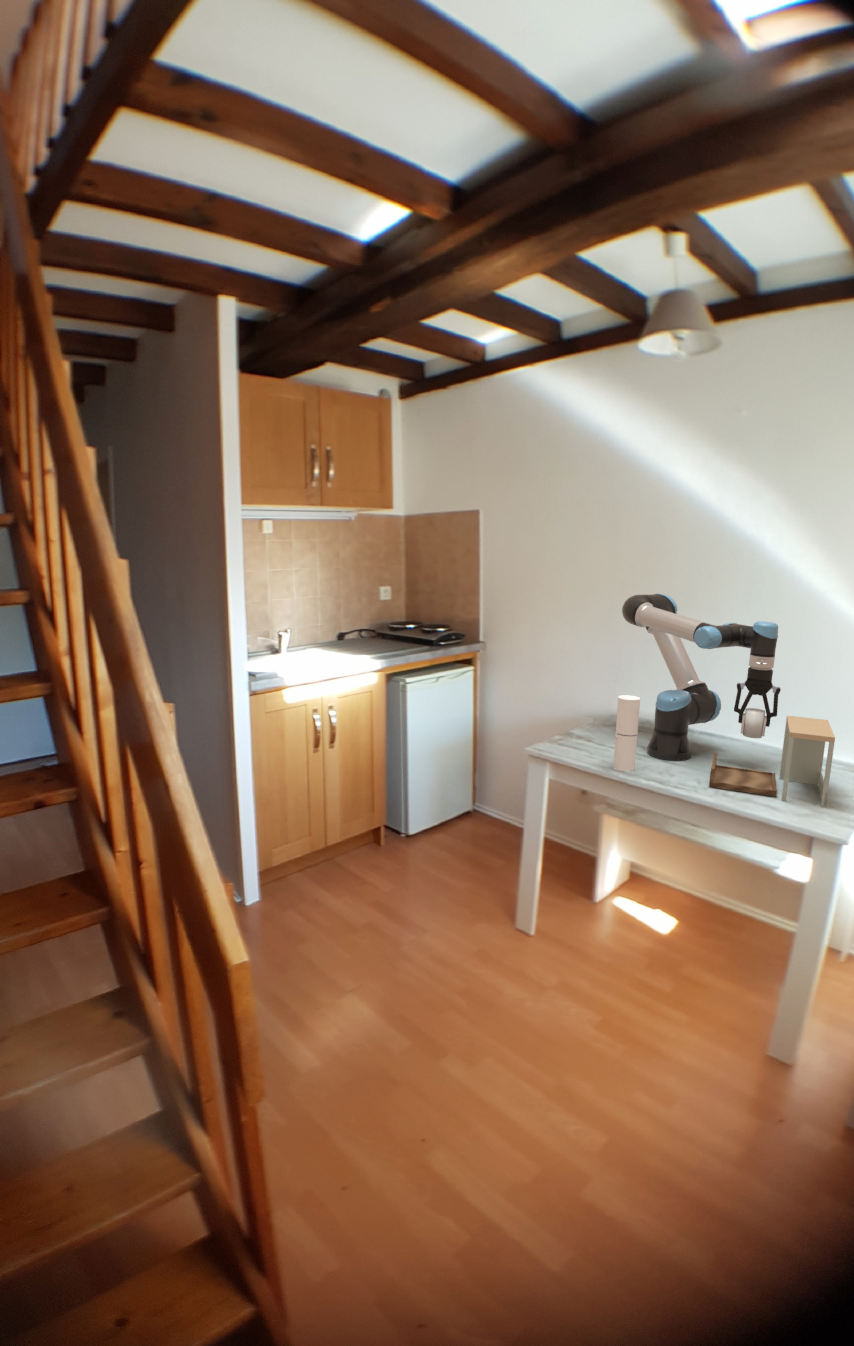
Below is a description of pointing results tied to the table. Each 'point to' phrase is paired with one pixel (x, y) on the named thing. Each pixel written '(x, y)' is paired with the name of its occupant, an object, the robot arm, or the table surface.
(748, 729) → the beige rounded cylinder
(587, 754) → the table surface
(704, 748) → the table surface
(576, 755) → the table surface
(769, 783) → the tray
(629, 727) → the cylindrical container
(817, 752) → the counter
